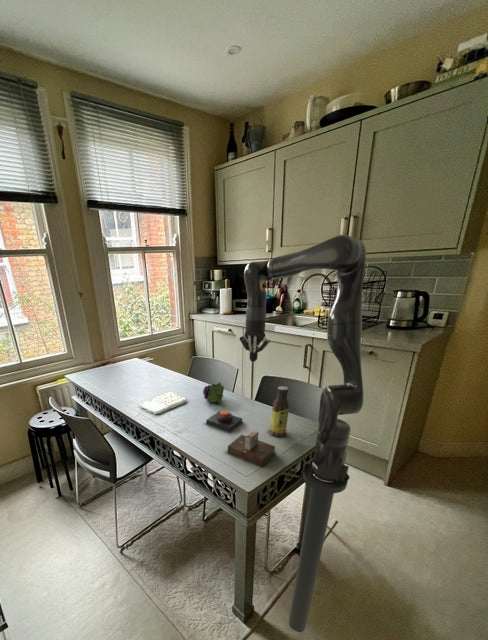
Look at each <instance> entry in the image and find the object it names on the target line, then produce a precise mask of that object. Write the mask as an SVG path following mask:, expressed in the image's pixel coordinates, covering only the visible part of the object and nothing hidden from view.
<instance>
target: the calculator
mask: <svg viewBox="0 0 488 640" xmlns="http://www.w3.org/2000/svg"><path fill="white" fill-rule="evenodd" d="M186 402H187V398H185V397H184V396H181V395H178V394H177V393H175V392H172V391H170V392H169V391H168V392H167V393H162V394H160V395H158V396H156V397H153V398H150V399H148V400H146V401H142V402H141V403H140V404H139V405H140V407H141V408H143V409H145V410H146V411H148V412H150V413H152V414H154V415H158V414H161V413H163V412H166V411H168V410H170V409H171V410H172V409H173V408H176V407H178V406H180V405H183V404H185V403H186Z"/></svg>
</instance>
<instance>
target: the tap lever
mask: <svg viewBox="0 0 488 640" xmlns="http://www.w3.org/2000/svg"><path fill="white" fill-rule="evenodd" d="M245 436H246V439H245V449H247V450H249V451H250V450H251V449H252V448H253V447H254V446H255V445H256V444H257V443H258V440H259V431H258V430H255V429H253V430H252V431H250V433H249V434H247V435H245Z"/></svg>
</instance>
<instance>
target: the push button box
mask: <svg viewBox="0 0 488 640" xmlns="http://www.w3.org/2000/svg"><path fill="white" fill-rule="evenodd" d="M220 412H221V411H220V410H219V411H217V412H215V413H214V414H213V415H211V416H209V417H208V418H207V419H206V421H205V422H206V425H208V426H211V427H214V428H216V429H219V430H222V431H224V432H228V433H231V432H232V431H234V430H235V429H237V428H238V427H239V426H240V425H241V424H243V418H242V417H239V416H236V415H233V414H232V412H231V413H230V412H229V416H228V417H227V418H223V417H221V416H220Z"/></svg>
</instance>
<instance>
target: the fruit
mask: <svg viewBox="0 0 488 640" xmlns="http://www.w3.org/2000/svg"><path fill="white" fill-rule="evenodd" d="M224 390H225V385H224V386H223V385H222V383H221V382H218V383H216V384H208V385H205V386H204V388H203V390H202V394H203V398H204V399H205V400H206V401H207V403H212V402H213V403H215V402H217V403H218V404H220V403H221V402H222V400H223V397H224Z"/></svg>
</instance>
